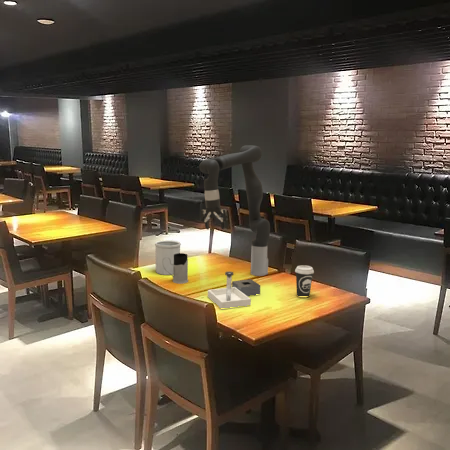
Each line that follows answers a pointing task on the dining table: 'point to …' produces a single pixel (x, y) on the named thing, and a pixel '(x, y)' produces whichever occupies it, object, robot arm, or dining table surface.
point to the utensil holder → (166, 255)
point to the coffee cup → (304, 280)
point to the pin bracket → (247, 287)
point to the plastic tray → (236, 298)
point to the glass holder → (179, 268)
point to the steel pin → (228, 285)
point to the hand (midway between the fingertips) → (215, 228)
